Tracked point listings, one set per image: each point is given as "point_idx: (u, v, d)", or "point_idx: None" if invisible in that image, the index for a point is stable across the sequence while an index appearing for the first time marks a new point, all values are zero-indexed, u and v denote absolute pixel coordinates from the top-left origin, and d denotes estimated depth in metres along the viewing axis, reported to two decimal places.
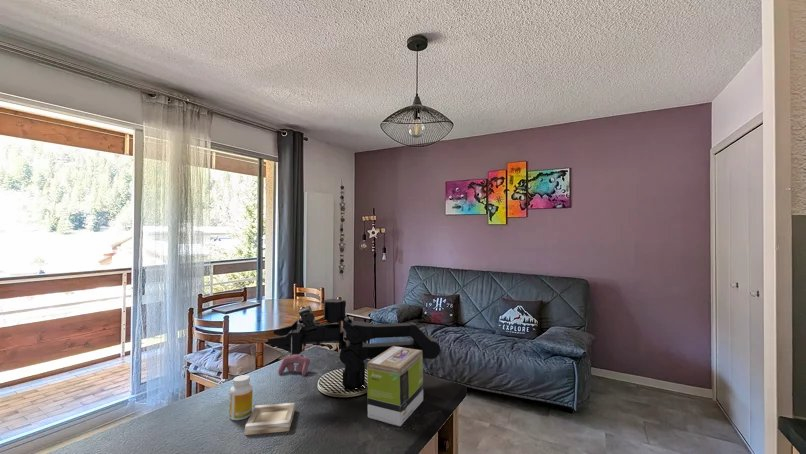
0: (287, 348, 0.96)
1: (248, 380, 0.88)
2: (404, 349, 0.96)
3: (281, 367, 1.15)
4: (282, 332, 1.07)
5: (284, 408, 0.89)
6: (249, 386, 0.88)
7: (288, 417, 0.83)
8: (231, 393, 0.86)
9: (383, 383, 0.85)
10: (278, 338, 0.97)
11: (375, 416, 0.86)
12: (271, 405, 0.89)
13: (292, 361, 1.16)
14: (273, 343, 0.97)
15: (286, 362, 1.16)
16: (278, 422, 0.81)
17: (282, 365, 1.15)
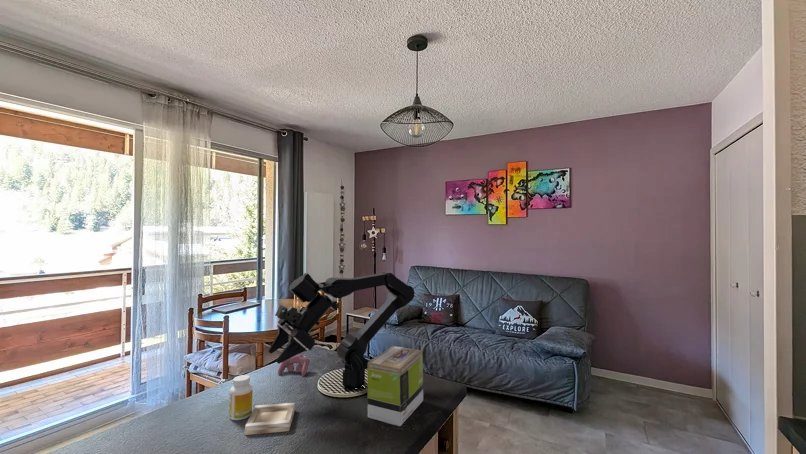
0: (300, 350, 0.90)
1: (248, 380, 0.88)
2: (404, 349, 0.96)
3: (281, 367, 1.14)
4: (277, 345, 0.98)
5: (284, 408, 0.89)
6: (249, 386, 0.88)
7: (288, 417, 0.83)
8: (231, 393, 0.86)
9: (383, 383, 0.85)
10: (284, 351, 0.89)
11: (375, 416, 0.86)
12: (271, 405, 0.89)
13: (292, 361, 1.16)
14: (284, 359, 0.89)
15: (286, 362, 1.16)
16: (278, 422, 0.81)
17: (282, 365, 1.15)
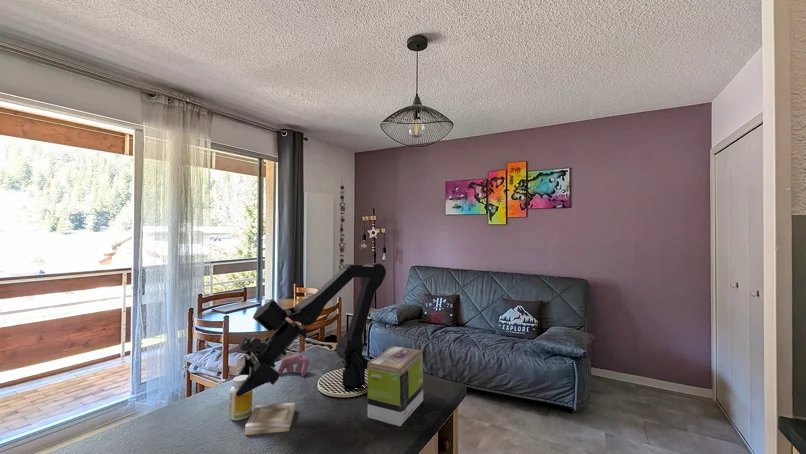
0: (261, 382, 0.86)
1: None
2: (404, 349, 0.96)
3: (280, 368, 1.14)
4: None
5: (284, 408, 0.89)
6: None
7: (288, 417, 0.83)
8: (231, 393, 0.86)
9: (383, 383, 0.85)
10: (245, 384, 0.85)
11: (375, 416, 0.86)
12: (271, 405, 0.89)
13: (291, 362, 1.15)
14: (244, 391, 0.85)
15: (285, 363, 1.16)
16: (278, 422, 0.81)
17: (281, 366, 1.14)
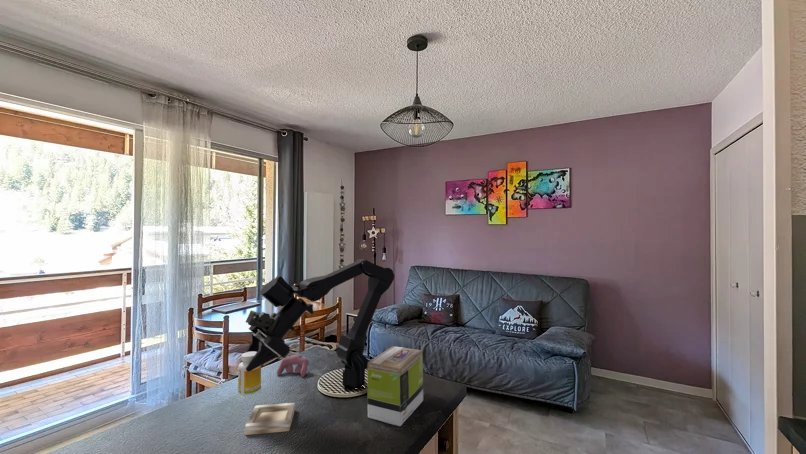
0: (271, 356, 0.86)
1: None
2: (404, 349, 0.96)
3: (280, 368, 1.13)
4: None
5: (284, 408, 0.89)
6: None
7: (288, 417, 0.83)
8: (240, 368, 0.85)
9: (383, 383, 0.85)
10: (255, 359, 0.84)
11: (375, 416, 0.86)
12: (271, 405, 0.89)
13: (291, 362, 1.15)
14: (254, 366, 0.85)
15: (285, 363, 1.15)
16: (278, 422, 0.81)
17: (281, 366, 1.14)
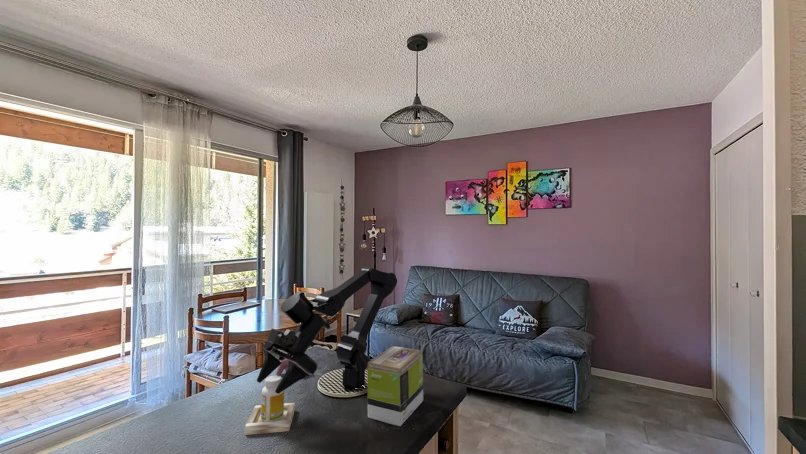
0: (300, 376, 0.84)
1: None
2: (404, 349, 0.96)
3: (279, 369, 1.13)
4: (265, 372, 0.89)
5: (284, 408, 0.89)
6: None
7: (288, 417, 0.83)
8: (265, 394, 0.83)
9: (383, 383, 0.85)
10: (285, 380, 0.82)
11: (375, 416, 0.86)
12: None
13: None
14: (284, 388, 0.82)
15: (284, 364, 1.15)
16: (278, 422, 0.81)
17: (280, 367, 1.13)
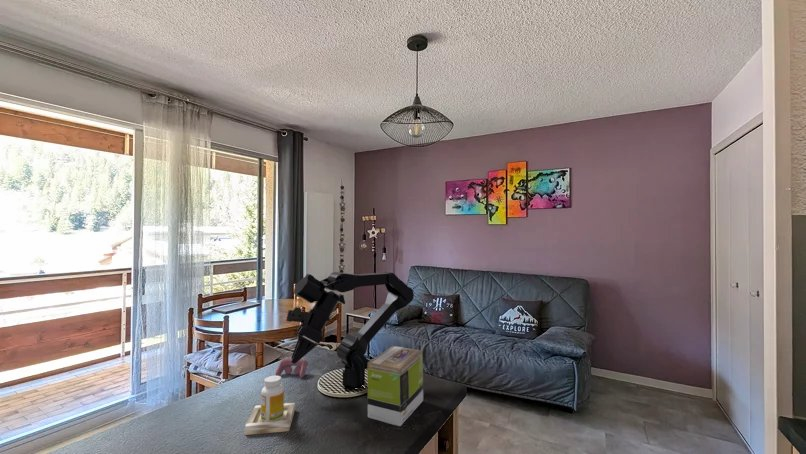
0: (311, 346, 0.91)
1: (280, 380, 0.86)
2: (404, 349, 0.96)
3: (278, 370, 1.12)
4: None
5: (284, 408, 0.89)
6: (281, 386, 0.86)
7: (288, 417, 0.83)
8: (264, 394, 0.83)
9: (383, 383, 0.85)
10: (296, 350, 0.90)
11: (375, 416, 0.86)
12: None
13: (290, 363, 1.14)
14: (298, 358, 0.90)
15: (283, 364, 1.14)
16: (278, 422, 0.81)
17: (279, 367, 1.13)
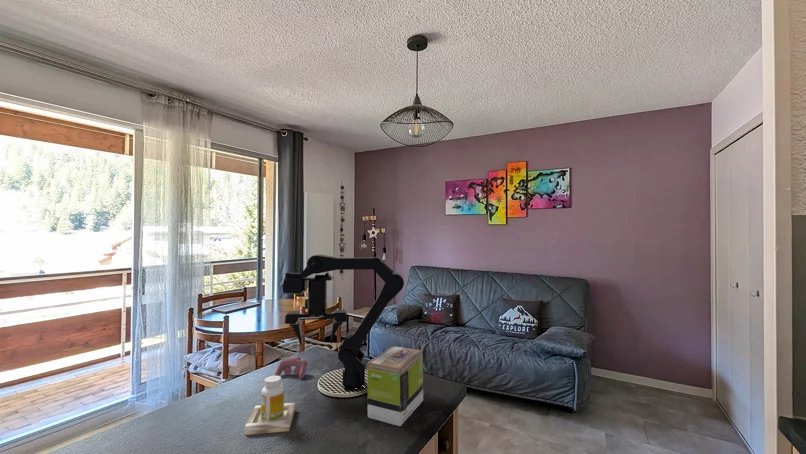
0: None
1: None
2: (404, 349, 0.96)
3: (278, 370, 1.12)
4: (331, 335, 1.07)
5: (284, 408, 0.89)
6: (281, 386, 0.86)
7: (288, 417, 0.83)
8: (265, 394, 0.83)
9: (383, 383, 0.85)
10: None
11: (375, 416, 0.86)
12: None
13: (289, 364, 1.13)
14: None
15: (283, 365, 1.14)
16: (278, 422, 0.81)
17: (279, 368, 1.12)
